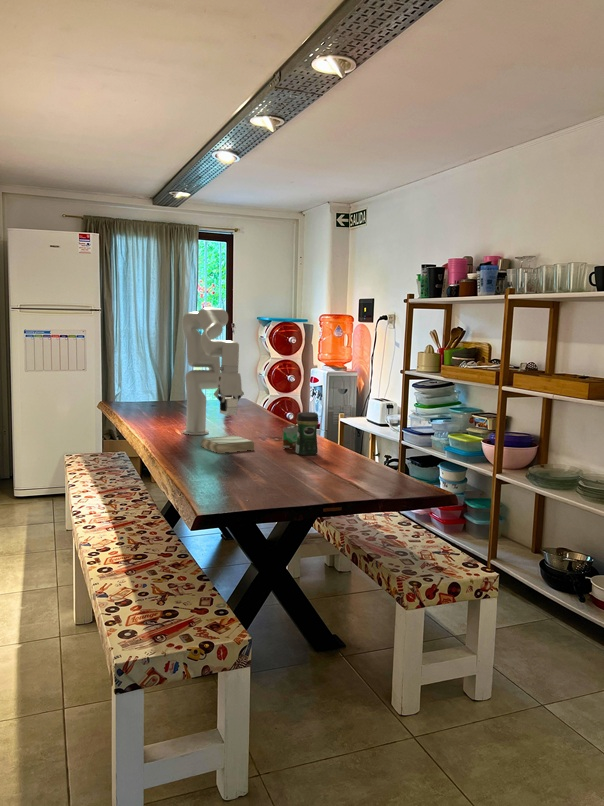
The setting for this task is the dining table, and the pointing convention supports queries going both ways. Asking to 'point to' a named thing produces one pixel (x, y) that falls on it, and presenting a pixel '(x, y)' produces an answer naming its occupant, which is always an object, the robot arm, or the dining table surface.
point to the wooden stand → (227, 444)
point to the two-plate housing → (230, 406)
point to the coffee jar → (307, 433)
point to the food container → (290, 436)
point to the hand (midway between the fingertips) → (228, 410)
